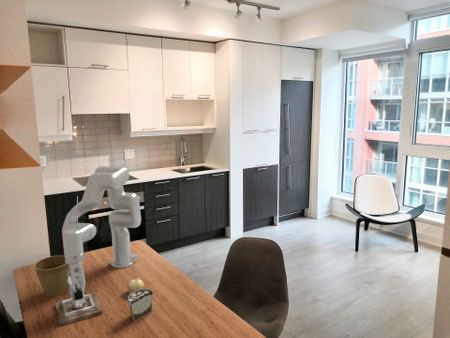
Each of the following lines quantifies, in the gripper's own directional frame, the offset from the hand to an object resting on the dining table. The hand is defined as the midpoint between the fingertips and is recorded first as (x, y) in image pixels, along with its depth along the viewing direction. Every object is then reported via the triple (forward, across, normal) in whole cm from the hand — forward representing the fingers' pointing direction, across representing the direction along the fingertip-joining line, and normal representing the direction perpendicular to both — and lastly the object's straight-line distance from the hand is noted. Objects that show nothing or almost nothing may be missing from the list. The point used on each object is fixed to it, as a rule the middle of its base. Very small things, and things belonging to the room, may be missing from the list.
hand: (77, 295), depth 150 cm
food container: (+7, -17, -22) cm, 29 cm away
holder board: (+7, 0, 0) cm, 7 cm away
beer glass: (+5, 0, 0) cm, 5 cm away
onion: (+7, +2, -26) cm, 27 cm away
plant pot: (+7, +21, +8) cm, 23 cm away
